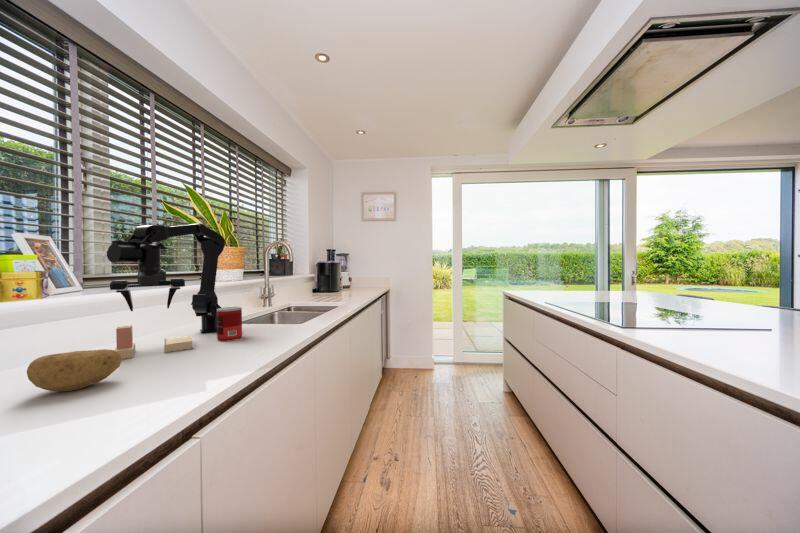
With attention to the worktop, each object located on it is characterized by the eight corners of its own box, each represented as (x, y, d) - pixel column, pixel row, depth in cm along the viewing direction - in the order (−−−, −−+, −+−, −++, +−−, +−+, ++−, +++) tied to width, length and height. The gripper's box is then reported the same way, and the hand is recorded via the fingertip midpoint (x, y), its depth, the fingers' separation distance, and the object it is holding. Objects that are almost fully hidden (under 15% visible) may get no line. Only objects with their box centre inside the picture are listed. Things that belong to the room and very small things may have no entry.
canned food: (246, 336, 111) (246, 306, 111) (232, 341, 103) (232, 309, 103) (227, 335, 112) (226, 306, 112) (212, 341, 104) (211, 309, 104)
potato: (119, 386, 64) (118, 349, 64) (17, 405, 56) (16, 363, 56) (125, 374, 72) (125, 341, 72) (37, 389, 64) (36, 352, 64)
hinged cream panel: (164, 346, 98) (164, 338, 98) (190, 342, 103) (190, 334, 103) (164, 352, 90) (164, 344, 90) (192, 348, 95) (192, 340, 95)
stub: (117, 352, 91) (117, 325, 91) (135, 350, 94) (134, 323, 94) (113, 360, 83) (112, 330, 83) (132, 357, 86) (132, 328, 86)
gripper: (106, 262, 87) (107, 316, 87) (185, 262, 99) (186, 309, 99) (112, 263, 96) (113, 311, 96) (183, 262, 107) (184, 306, 107)
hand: (150, 309), depth 99 cm, fingers open, 9 cm apart
